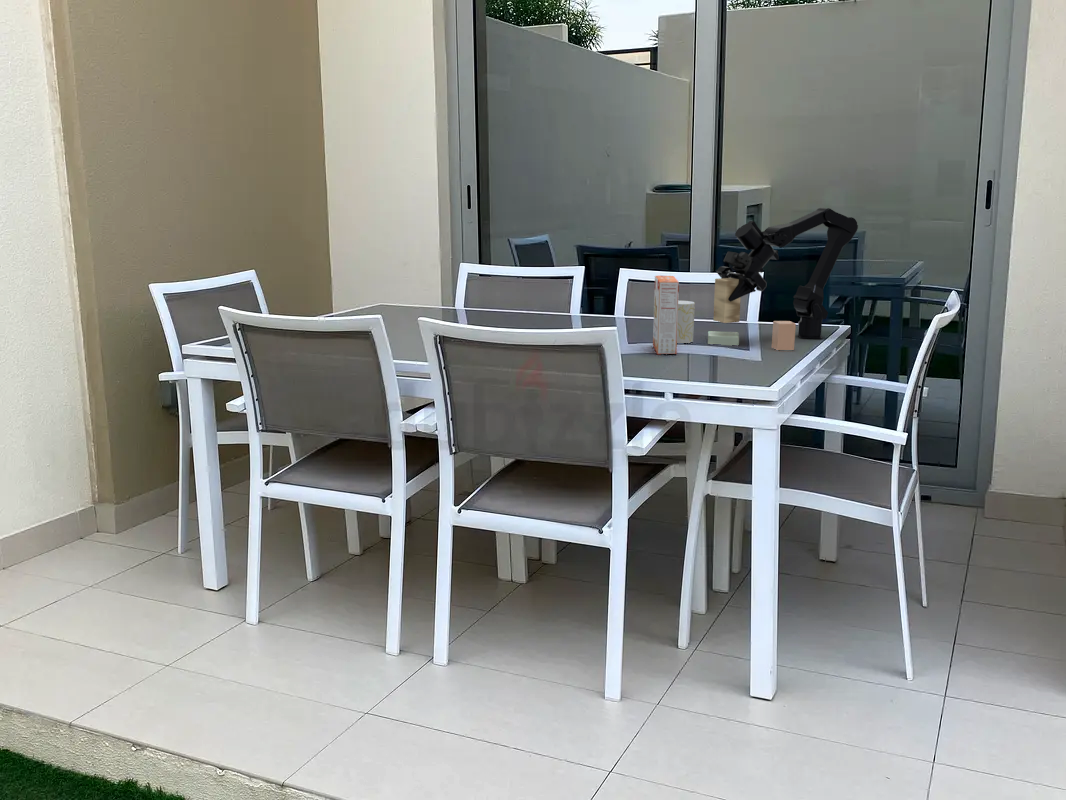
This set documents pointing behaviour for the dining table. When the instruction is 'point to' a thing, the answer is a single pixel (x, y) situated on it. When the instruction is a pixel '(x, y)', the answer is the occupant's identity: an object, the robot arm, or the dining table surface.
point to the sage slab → (723, 338)
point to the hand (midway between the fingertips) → (723, 299)
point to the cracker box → (665, 314)
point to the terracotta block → (783, 335)
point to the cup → (685, 321)
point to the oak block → (726, 301)
